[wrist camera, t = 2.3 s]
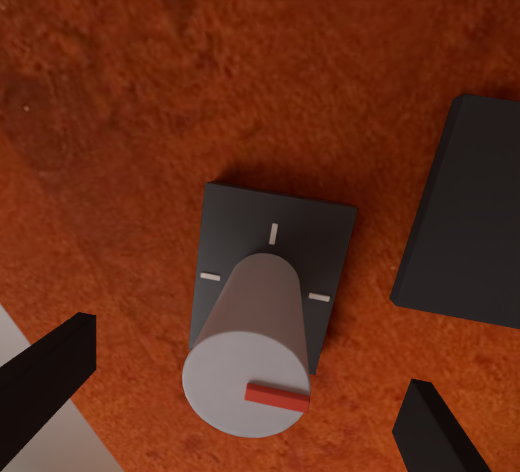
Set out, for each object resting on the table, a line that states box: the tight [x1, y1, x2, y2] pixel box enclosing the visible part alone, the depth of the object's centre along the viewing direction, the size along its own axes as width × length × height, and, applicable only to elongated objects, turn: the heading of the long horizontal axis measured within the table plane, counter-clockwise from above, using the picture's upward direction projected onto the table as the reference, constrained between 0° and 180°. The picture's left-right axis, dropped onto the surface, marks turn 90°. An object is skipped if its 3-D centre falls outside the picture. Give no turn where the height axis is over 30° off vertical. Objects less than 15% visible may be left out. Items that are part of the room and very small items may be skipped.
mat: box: [390, 94, 520, 329], centre depth 18 cm, size 14×9×1 cm, turn 171°
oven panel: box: [189, 181, 358, 375], centre depth 20 cm, size 13×10×2 cm
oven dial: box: [182, 253, 310, 438], centre depth 14 cm, size 5×5×9 cm
